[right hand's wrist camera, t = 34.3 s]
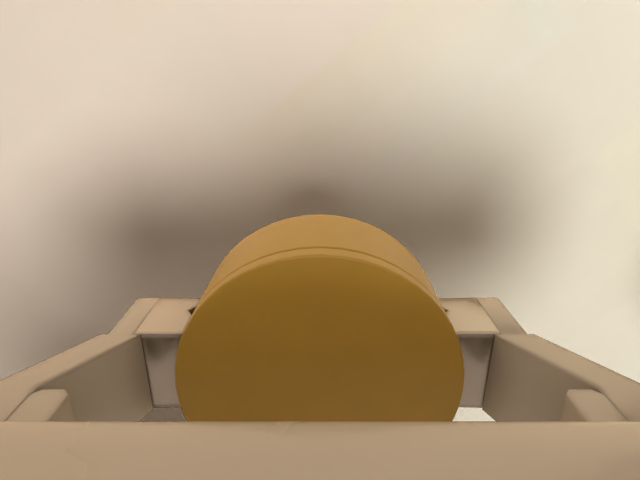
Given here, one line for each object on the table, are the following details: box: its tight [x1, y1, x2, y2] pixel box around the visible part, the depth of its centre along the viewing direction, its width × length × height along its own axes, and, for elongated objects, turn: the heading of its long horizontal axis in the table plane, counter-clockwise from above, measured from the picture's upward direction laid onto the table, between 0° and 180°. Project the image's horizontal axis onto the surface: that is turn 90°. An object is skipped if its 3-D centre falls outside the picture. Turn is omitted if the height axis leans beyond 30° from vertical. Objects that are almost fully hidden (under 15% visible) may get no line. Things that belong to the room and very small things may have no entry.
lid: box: [175, 214, 465, 422], centre depth 9 cm, size 5×5×2 cm
